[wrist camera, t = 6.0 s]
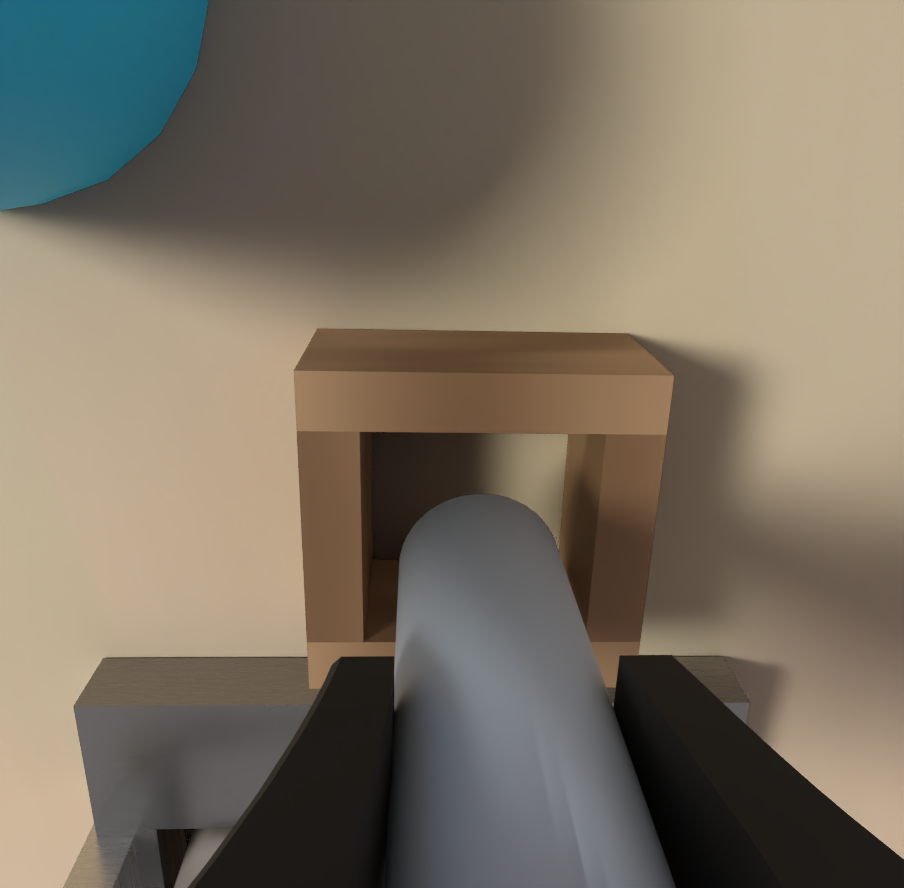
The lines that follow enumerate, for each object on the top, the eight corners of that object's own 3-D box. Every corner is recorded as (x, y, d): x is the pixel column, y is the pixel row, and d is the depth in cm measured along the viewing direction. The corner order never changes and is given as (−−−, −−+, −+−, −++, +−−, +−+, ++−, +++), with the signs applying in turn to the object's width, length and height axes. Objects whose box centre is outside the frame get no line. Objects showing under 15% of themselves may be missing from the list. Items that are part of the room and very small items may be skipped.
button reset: (305, 803, 18) (296, 858, 17) (309, 892, 19) (301, 950, 18) (183, 805, 18) (163, 860, 17) (194, 894, 19) (176, 952, 18)
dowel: (568, 499, 12) (885, 1237, 4) (548, 638, 13) (770, 1479, 5) (404, 488, 12) (373, 1237, 4) (394, 631, 13) (352, 1492, 5)
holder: (627, 333, 15) (674, 376, 12) (599, 600, 17) (634, 687, 15) (317, 328, 15) (293, 370, 12) (327, 599, 17) (308, 688, 14)
